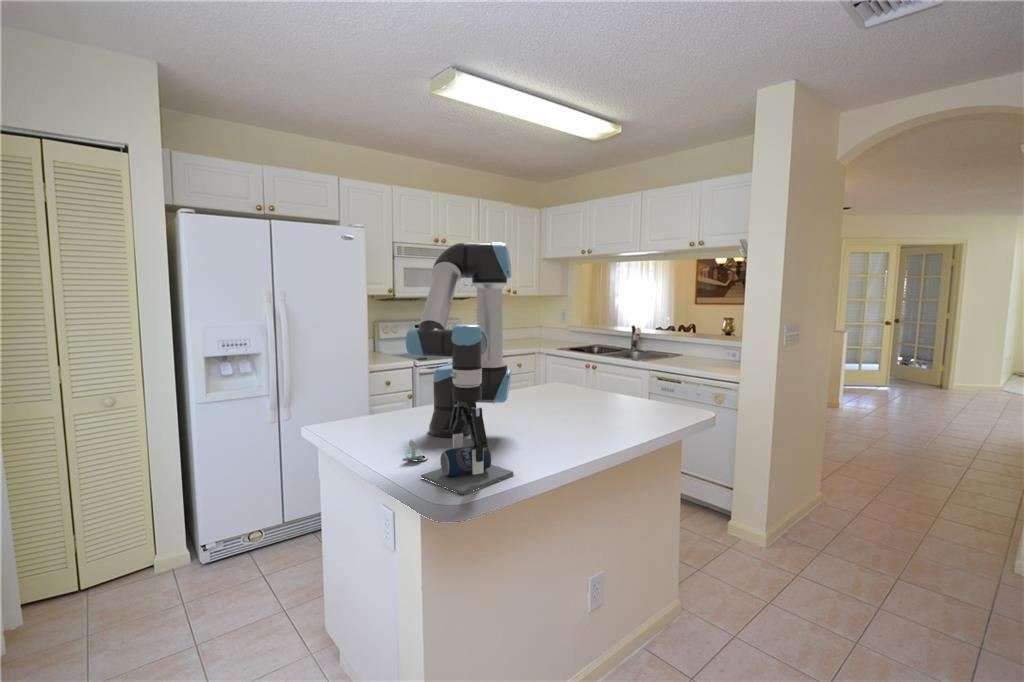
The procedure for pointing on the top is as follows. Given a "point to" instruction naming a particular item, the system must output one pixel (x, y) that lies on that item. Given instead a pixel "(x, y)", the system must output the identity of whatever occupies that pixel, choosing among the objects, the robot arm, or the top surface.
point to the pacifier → (414, 452)
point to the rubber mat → (468, 479)
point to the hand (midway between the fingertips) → (467, 465)
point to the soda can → (461, 461)
